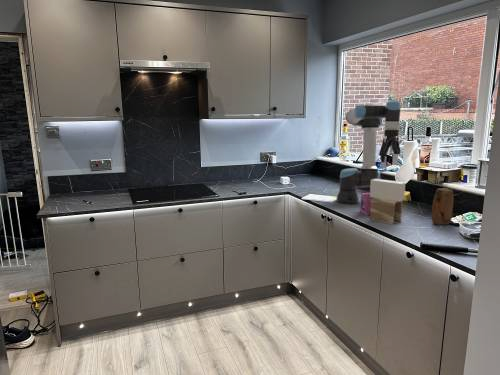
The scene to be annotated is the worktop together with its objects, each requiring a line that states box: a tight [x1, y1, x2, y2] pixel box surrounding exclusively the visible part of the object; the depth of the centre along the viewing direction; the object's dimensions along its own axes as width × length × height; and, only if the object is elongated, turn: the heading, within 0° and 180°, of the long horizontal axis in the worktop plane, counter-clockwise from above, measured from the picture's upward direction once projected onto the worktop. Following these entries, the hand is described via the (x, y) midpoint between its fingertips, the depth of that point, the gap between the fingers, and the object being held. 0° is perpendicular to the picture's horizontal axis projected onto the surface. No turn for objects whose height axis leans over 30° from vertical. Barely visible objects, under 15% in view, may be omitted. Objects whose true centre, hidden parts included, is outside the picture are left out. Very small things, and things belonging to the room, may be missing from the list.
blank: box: [369, 178, 406, 201], centre depth 217 cm, size 6×18×10 cm, turn 45°
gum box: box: [359, 190, 372, 216], centre depth 236 cm, size 24×8×14 cm, turn 104°
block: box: [431, 187, 454, 226], centre depth 211 cm, size 11×8×20 cm
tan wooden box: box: [369, 197, 404, 225], centre depth 219 cm, size 10×14×13 cm
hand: (389, 166), depth 214 cm, fingers open, 13 cm apart
